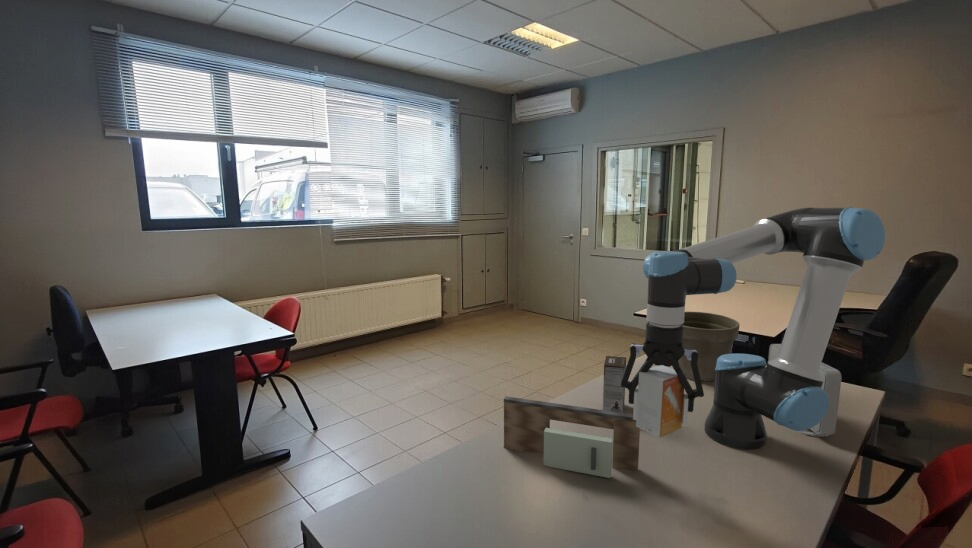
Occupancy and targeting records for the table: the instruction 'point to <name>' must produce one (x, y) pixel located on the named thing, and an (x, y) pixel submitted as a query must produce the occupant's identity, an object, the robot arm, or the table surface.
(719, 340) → the plant pot
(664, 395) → the small box
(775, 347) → the network device
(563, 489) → the table surface
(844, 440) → the table surface
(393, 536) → the table surface
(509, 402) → the wall frame
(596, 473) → the sliding door
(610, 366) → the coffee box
